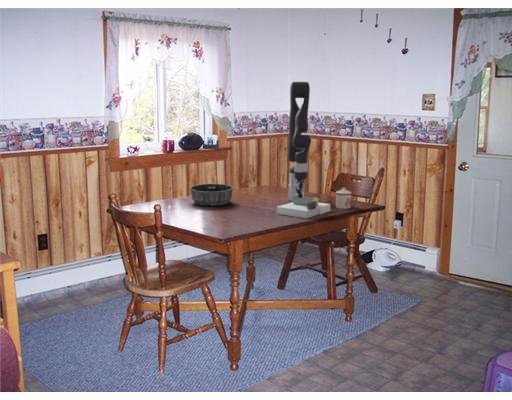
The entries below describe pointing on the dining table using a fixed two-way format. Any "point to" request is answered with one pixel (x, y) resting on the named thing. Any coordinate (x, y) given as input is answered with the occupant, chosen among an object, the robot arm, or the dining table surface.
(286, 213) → the door leaf
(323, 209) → the jamb block
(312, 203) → the block
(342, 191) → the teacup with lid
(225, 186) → the bundt pan
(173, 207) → the dining table surface
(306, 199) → the bar
